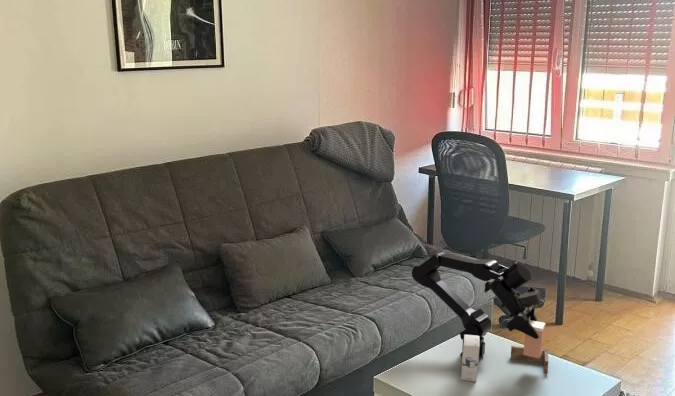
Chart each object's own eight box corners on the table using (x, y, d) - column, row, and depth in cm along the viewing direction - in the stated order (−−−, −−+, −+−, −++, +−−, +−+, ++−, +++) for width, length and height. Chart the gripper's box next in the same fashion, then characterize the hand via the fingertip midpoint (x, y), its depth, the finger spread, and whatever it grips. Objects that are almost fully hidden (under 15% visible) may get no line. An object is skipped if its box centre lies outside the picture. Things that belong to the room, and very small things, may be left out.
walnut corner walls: (510, 368, 214) (510, 356, 213) (510, 356, 222) (511, 345, 221) (547, 373, 211) (548, 361, 210) (546, 361, 219) (547, 349, 218)
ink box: (461, 367, 214) (463, 333, 211) (477, 369, 213) (479, 335, 210) (461, 380, 206) (462, 345, 203) (477, 382, 205) (479, 346, 202)
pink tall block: (523, 354, 210) (526, 325, 208) (526, 348, 214) (529, 319, 212) (539, 358, 208) (542, 328, 206) (542, 352, 212) (545, 323, 210)
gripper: (520, 291, 199) (554, 333, 197) (532, 273, 216) (564, 311, 213) (492, 310, 205) (525, 351, 202) (506, 291, 221) (537, 329, 219)
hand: (539, 335), depth 209 cm, fingers closed on pink tall block, 5 cm apart
